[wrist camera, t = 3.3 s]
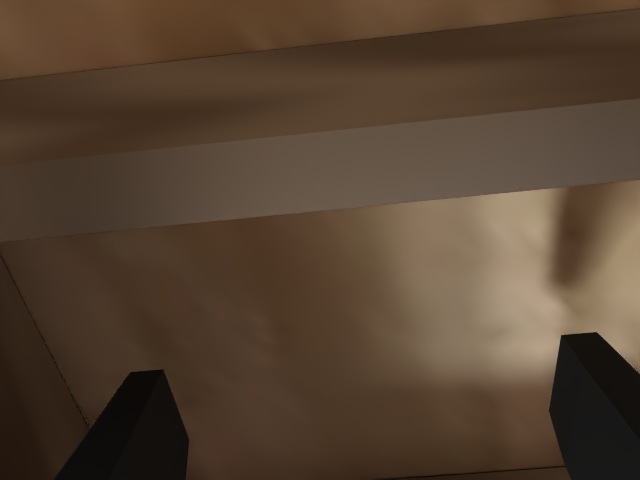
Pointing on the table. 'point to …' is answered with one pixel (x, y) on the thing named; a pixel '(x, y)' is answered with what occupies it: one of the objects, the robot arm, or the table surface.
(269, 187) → the walnut tray
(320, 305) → the table surface
